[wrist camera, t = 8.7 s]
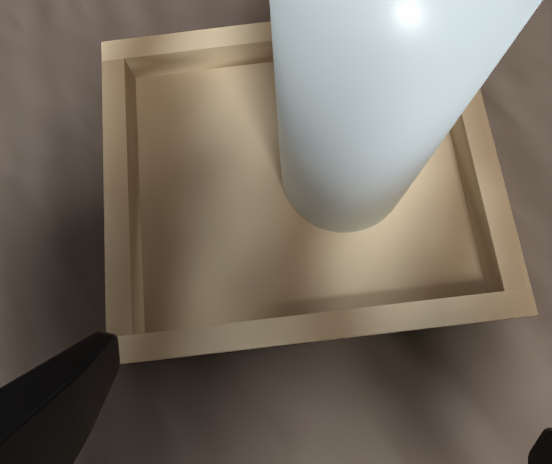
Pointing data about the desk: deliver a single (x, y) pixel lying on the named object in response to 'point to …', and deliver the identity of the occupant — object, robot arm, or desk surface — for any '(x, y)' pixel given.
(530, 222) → the desk surface
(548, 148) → the desk surface
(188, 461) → the desk surface
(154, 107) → the tray
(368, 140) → the white rounded cylinder
